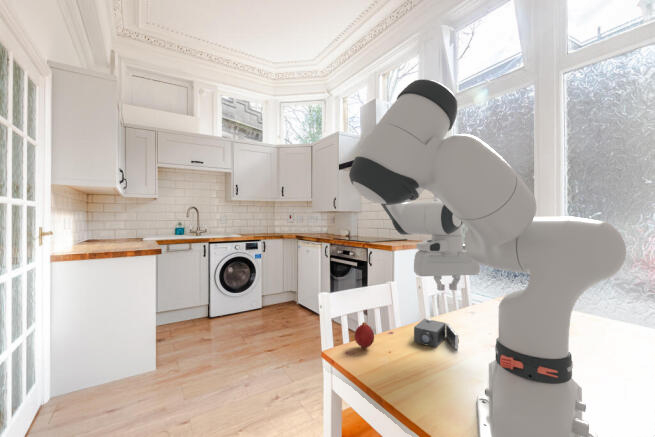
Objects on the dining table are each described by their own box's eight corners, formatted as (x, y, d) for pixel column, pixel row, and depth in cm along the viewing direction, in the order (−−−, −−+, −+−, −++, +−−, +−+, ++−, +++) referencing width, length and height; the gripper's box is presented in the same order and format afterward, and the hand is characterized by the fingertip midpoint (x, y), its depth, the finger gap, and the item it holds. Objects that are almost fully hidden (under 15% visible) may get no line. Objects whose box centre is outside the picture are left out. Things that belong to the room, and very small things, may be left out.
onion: (355, 343, 90) (355, 317, 90) (374, 345, 89) (374, 319, 89) (353, 352, 85) (353, 324, 85) (373, 354, 83) (373, 326, 84)
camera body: (435, 349, 87) (435, 331, 87) (412, 343, 91) (412, 326, 91) (445, 336, 96) (445, 321, 96) (424, 331, 100) (424, 316, 100)
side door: (459, 349, 87) (459, 335, 87) (455, 349, 87) (455, 335, 87) (449, 336, 96) (449, 323, 96) (445, 336, 96) (445, 323, 96)
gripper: (471, 243, 94) (470, 286, 94) (411, 244, 91) (411, 288, 90) (484, 245, 88) (484, 291, 88) (421, 245, 84) (421, 293, 84)
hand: (446, 290), depth 89 cm, fingers open, 3 cm apart
